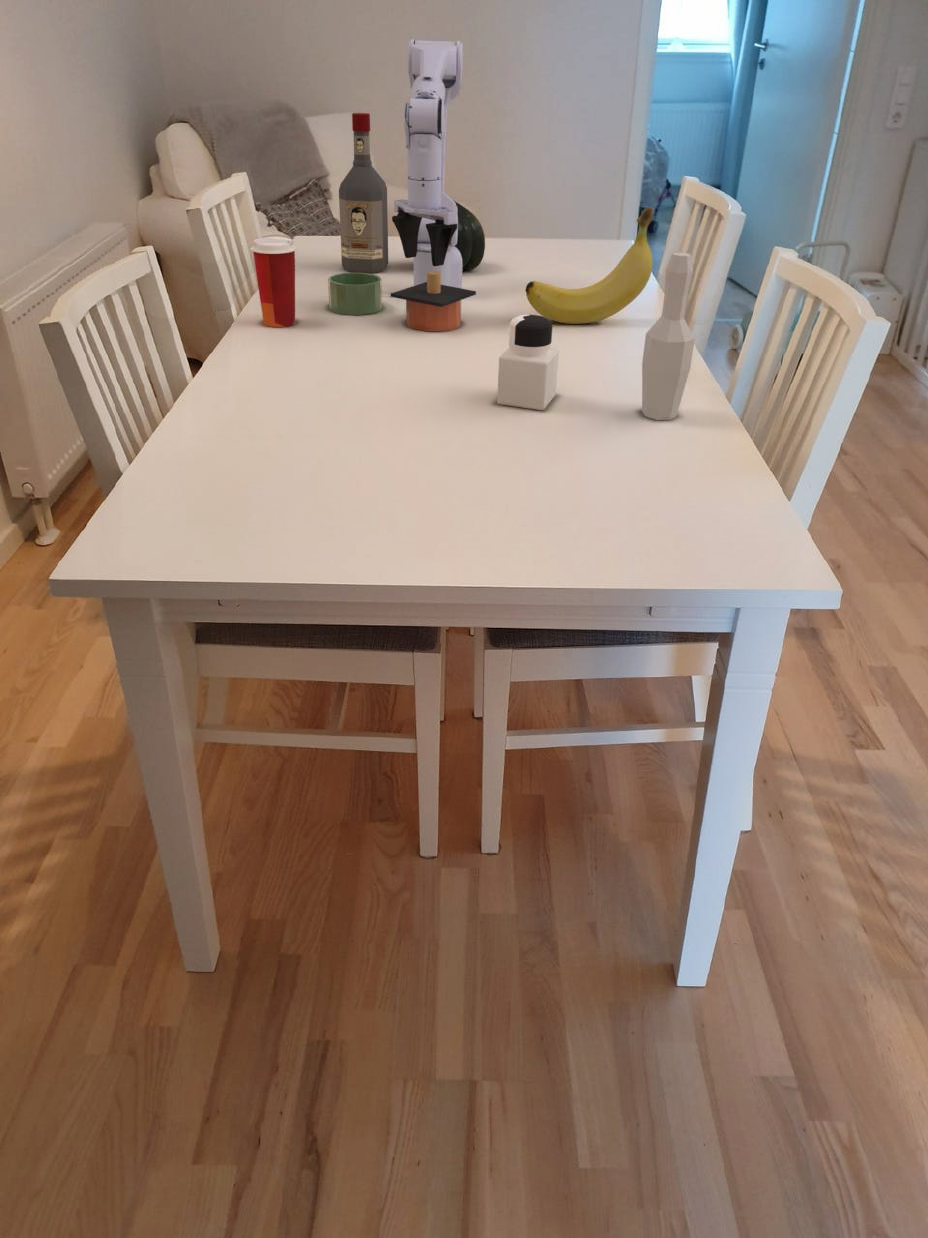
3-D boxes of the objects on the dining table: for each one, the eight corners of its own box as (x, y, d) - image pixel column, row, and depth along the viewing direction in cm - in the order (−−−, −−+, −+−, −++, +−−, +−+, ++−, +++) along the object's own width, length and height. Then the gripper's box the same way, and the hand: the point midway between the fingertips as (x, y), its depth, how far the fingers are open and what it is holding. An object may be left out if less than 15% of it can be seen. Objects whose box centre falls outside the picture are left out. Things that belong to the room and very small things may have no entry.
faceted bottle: (654, 424, 134) (677, 261, 123) (628, 410, 139) (647, 251, 127) (690, 418, 137) (716, 257, 125) (663, 404, 142) (685, 247, 130)
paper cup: (305, 318, 175) (300, 237, 168) (295, 329, 169) (289, 246, 161) (263, 315, 176) (256, 235, 168) (251, 327, 169) (244, 244, 162)
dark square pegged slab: (426, 284, 178) (426, 262, 176) (476, 294, 173) (476, 271, 171) (390, 296, 170) (390, 273, 168) (441, 307, 165) (442, 283, 163)
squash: (485, 253, 200) (484, 187, 202) (413, 253, 200) (414, 188, 203) (485, 287, 214) (484, 225, 216) (418, 287, 214) (418, 226, 217)
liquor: (349, 262, 214) (344, 110, 198) (390, 264, 213) (387, 112, 197) (339, 271, 206) (333, 114, 190) (381, 274, 205) (378, 116, 189)
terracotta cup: (436, 313, 180) (437, 286, 177) (471, 325, 174) (472, 297, 171) (395, 322, 175) (395, 293, 172) (430, 334, 168) (430, 305, 166)
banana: (525, 326, 174) (532, 208, 163) (521, 317, 179) (528, 202, 168) (647, 327, 176) (662, 210, 165) (640, 318, 181) (654, 204, 170)
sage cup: (361, 298, 188) (360, 269, 185) (392, 309, 182) (391, 279, 179) (319, 306, 182) (317, 277, 179) (350, 317, 176) (348, 287, 173)
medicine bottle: (556, 395, 143) (562, 314, 137) (543, 411, 138) (549, 327, 131) (510, 389, 145) (514, 308, 139) (496, 404, 140) (499, 321, 133)
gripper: (379, 174, 166) (381, 256, 173) (434, 186, 157) (433, 272, 164) (411, 170, 170) (411, 251, 177) (466, 182, 161) (464, 266, 168)
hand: (424, 261), depth 171 cm, fingers open, 7 cm apart
